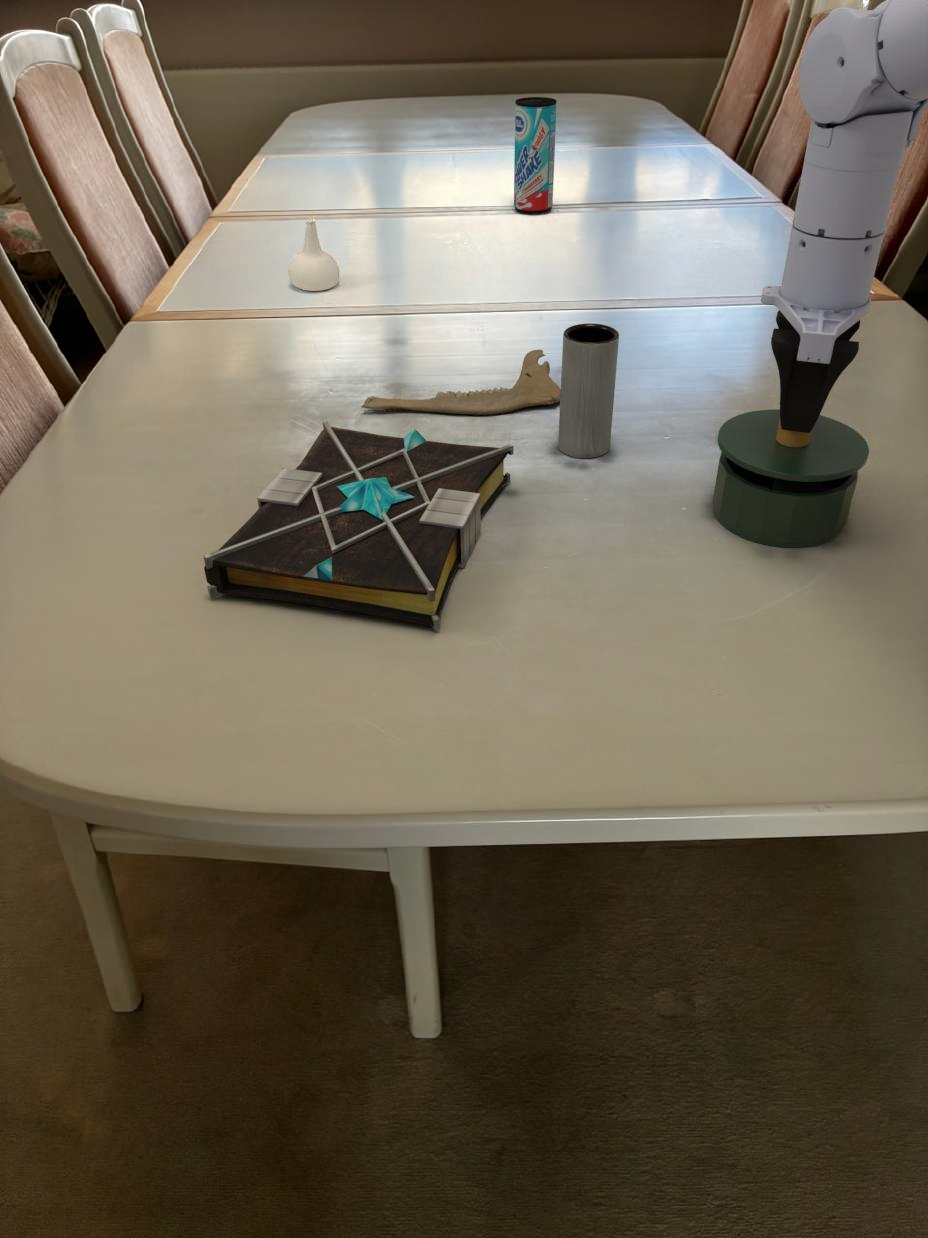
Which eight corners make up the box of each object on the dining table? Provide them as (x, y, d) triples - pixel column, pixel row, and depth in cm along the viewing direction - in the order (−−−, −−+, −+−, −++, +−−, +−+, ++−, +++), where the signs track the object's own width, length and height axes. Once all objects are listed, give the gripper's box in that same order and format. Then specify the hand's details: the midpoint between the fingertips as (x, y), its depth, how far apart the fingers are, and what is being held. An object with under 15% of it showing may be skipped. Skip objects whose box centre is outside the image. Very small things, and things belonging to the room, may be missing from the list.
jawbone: (590, 402, 93) (592, 383, 91) (401, 456, 85) (400, 436, 84) (539, 363, 99) (541, 345, 97) (358, 411, 91) (357, 391, 90)
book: (325, 457, 83) (319, 404, 80) (514, 481, 80) (515, 426, 77) (207, 600, 67) (194, 540, 64) (437, 638, 63) (435, 576, 60)
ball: (797, 508, 76) (832, 478, 74) (795, 530, 73) (831, 500, 71) (763, 480, 76) (798, 449, 73) (760, 501, 73) (796, 470, 71)
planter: (618, 454, 83) (628, 338, 77) (569, 462, 82) (576, 346, 76) (596, 432, 87) (605, 320, 80) (550, 439, 86) (554, 326, 79)
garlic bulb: (313, 274, 124) (306, 209, 119) (350, 282, 121) (345, 216, 116) (279, 288, 120) (270, 221, 115) (317, 297, 117) (310, 228, 112)
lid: (865, 431, 75) (885, 356, 71) (865, 499, 66) (887, 418, 63) (724, 414, 77) (736, 341, 74) (707, 476, 69) (719, 398, 66)
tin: (845, 491, 77) (858, 442, 75) (843, 557, 70) (857, 505, 67) (720, 474, 80) (728, 426, 77) (704, 535, 73) (712, 484, 70)
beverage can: (506, 208, 148) (507, 99, 138) (539, 203, 150) (542, 95, 141) (526, 217, 143) (529, 105, 134) (559, 212, 146) (564, 101, 136)
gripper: (782, 195, 69) (750, 375, 77) (765, 254, 58) (730, 457, 66) (886, 202, 67) (843, 385, 75) (889, 264, 56) (838, 471, 64)
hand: (797, 420), depth 70 cm, fingers closed on lid, 2 cm apart
